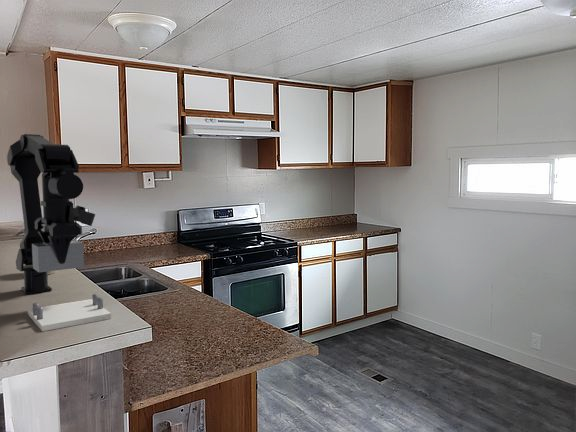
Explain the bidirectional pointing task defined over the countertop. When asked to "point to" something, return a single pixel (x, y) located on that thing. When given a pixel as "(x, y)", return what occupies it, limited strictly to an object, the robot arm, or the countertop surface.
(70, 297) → the countertop surface
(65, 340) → the countertop surface
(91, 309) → the tray
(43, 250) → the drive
